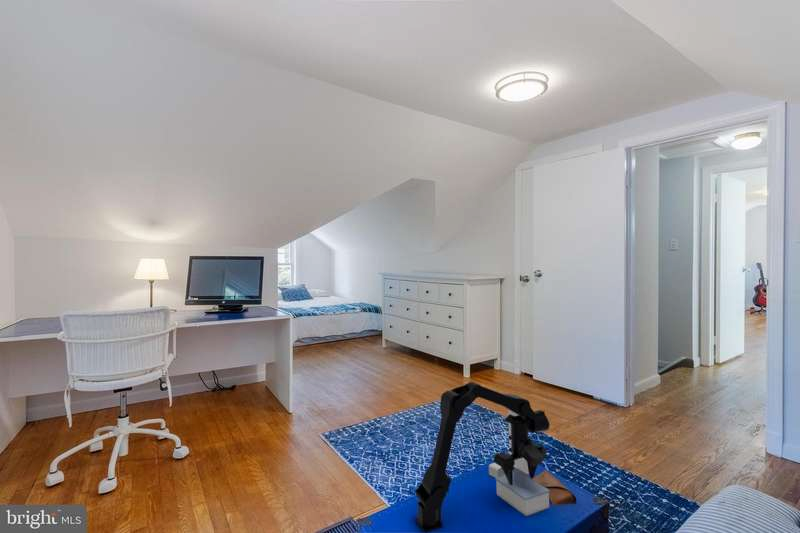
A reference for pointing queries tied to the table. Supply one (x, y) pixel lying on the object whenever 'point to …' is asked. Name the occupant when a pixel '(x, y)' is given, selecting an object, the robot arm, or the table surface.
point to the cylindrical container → (519, 463)
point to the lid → (523, 485)
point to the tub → (519, 503)
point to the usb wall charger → (496, 470)
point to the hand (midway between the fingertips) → (521, 481)
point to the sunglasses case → (555, 489)
